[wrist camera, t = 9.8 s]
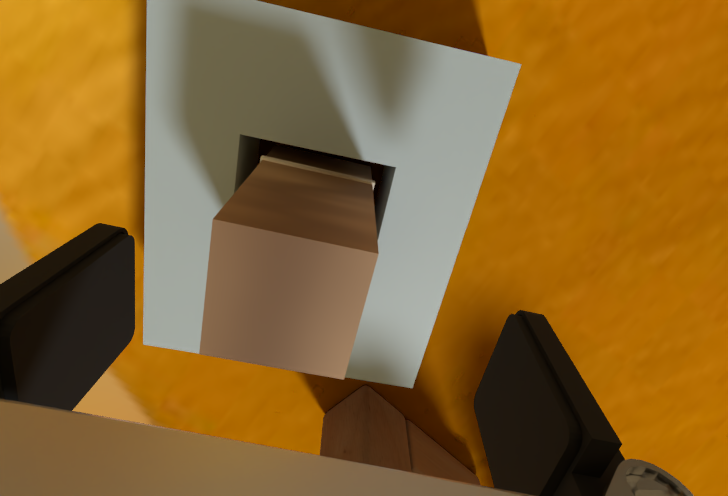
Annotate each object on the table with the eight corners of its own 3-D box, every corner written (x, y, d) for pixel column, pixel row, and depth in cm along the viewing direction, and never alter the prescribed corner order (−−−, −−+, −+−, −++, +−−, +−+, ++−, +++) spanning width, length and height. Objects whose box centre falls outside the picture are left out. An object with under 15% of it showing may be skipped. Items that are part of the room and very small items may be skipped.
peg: (372, 156, 20) (382, 251, 11) (351, 239, 22) (346, 382, 12) (279, 135, 19) (209, 214, 10) (266, 221, 21) (195, 355, 12)
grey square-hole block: (488, 60, 18) (521, 64, 15) (404, 335, 24) (412, 388, 20) (192, -11, 17) (147, -27, 13) (178, 296, 23) (143, 344, 19)
